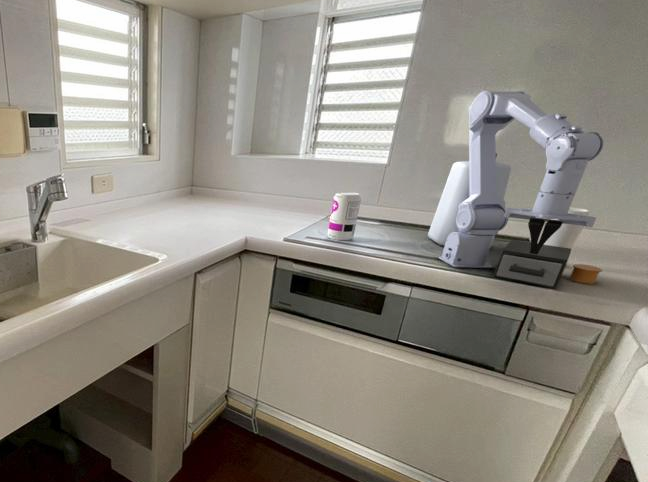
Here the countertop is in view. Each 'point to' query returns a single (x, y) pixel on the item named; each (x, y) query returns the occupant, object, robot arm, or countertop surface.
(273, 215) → the countertop surface
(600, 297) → the countertop surface
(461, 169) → the plastic bottle
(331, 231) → the supplement can
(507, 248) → the black drawer unit
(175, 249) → the countertop surface
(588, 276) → the cylinder
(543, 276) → the pod drawer
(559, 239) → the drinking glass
